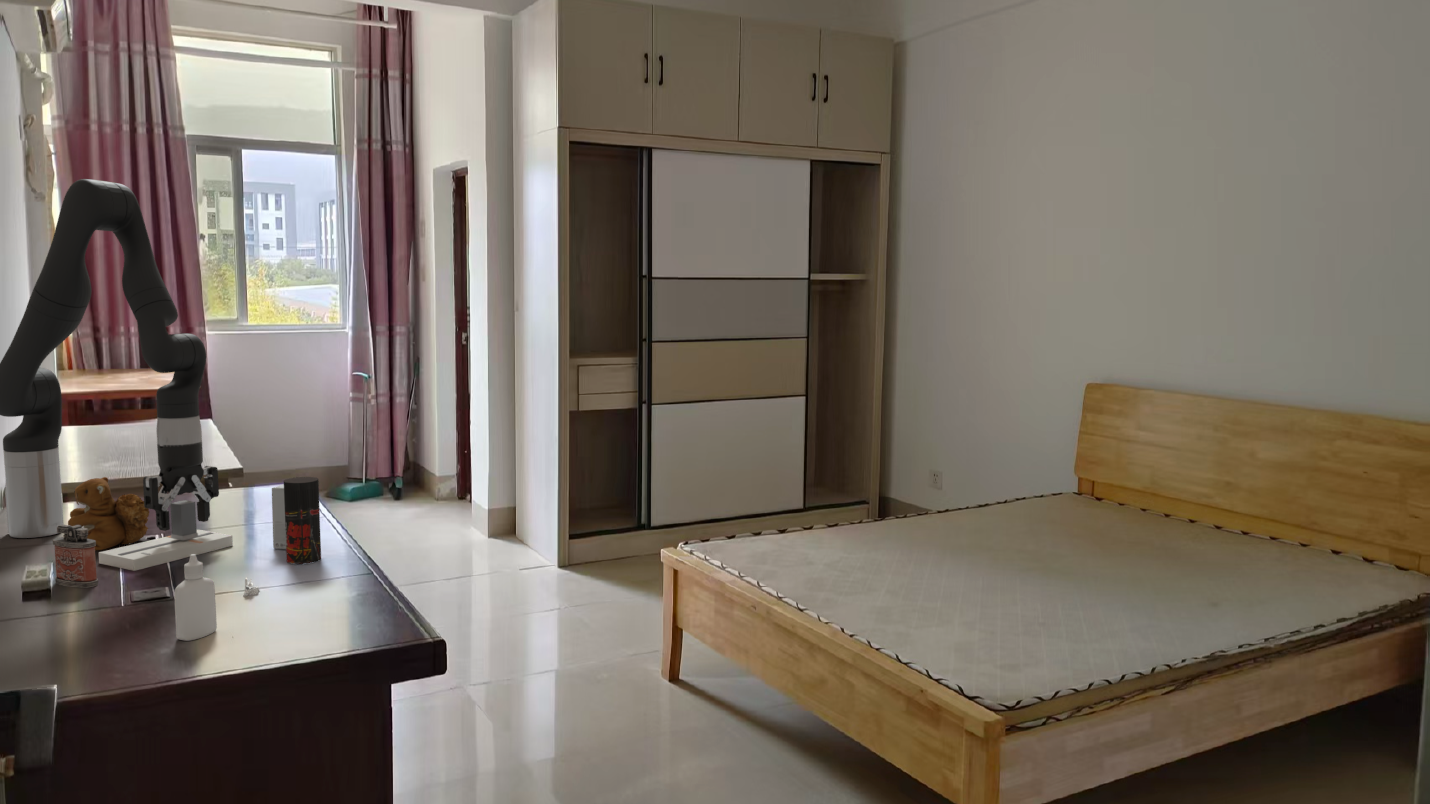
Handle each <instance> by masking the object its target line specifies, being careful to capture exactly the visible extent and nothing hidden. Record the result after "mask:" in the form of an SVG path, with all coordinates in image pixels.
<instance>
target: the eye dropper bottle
mask: <svg viewBox="0 0 1430 804" xmlns="http://www.w3.org/2000/svg"><path fill="white" fill-rule="evenodd" d="M183 566H184V567H183V571H184V580H182V581H181V582H180V583H178V585H177V586H176V587H175V589H174V595H173V596H174V614H175V615H174V617H175V620H174V621H175V635H176V636H175V637H176V639H177V640H179V641H185V642H190V641H195V640H199V639H201V638H205V637H207V636H210V635H212V634H213V633H214V632H215V631H217V628H218V627H217V625H218V624H217V605H216V604H217V603H216V588H215V587H216V586H215V581H214V579H212V578H209V577H204V563H203V561H199V560H198V557H197V555H196V554H191V555H190V557H189V561H188V562H186V563H184V565H183Z"/></svg>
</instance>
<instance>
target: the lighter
mask: <svg viewBox="0 0 1430 804" xmlns="http://www.w3.org/2000/svg"><path fill="white" fill-rule="evenodd" d="M57 534H63V536H61V537H56V538H53V539H52V545H54V558H55V571H56V572H55V573H56V576H55V578H54V579H55V580H54V582H55V584H57V585H60V586H64V587H71V588H82V589H84V588H91V587H92V588H93V587H96V586H98V585H99V578H97V562H96V560H97V559H96V551H95V546H96V541H95V540H92V539H87V537H88V529H87V528H84V527H82V526H81V525H75V526H71V525H68V524H64V525H58V527H57Z"/></svg>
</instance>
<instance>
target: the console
mask: <svg viewBox="0 0 1430 804" xmlns="http://www.w3.org/2000/svg"><path fill="white" fill-rule="evenodd" d="M197 533H198V537H196V538H192V539H188V540H178V539H173V538H171V535H167V536H163V537H159V538H156V539H155V538H154V539H151V540H147V541H142V542H138V543H137V542H136V543H134V544H128V545H126V546H125V545H124V546H121V547H116V548H112V549H111V548H110V549H109V550H107V549H106V550H103V551H99V552H98V563H99V564H101V565H105V566H109V567H110V566H111V567H113V568H121V569H124V570H128V571H133V572H135V571H139V570H143V569H146V568H151V567H154V566H159V565H162V564H167V563H170V562H174V561H178V560H181V559H186V558H190V555H191V554H196V556H198V555H201V554H205V553H208V552H213V551H217V550H221V549H225V548H230V547H233V546H234V543H233V541H234V540H233V535H230V534H225V533H220V532H215V531H209V530H204V529H203V530H202V529H197Z"/></svg>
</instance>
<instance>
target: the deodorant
mask: <svg viewBox="0 0 1430 804" xmlns="http://www.w3.org/2000/svg"><path fill="white" fill-rule="evenodd" d="M283 484H284V505H285V531H286V549H285V555H286V563H287V564H290V565H306V564H307V565H308V564H313V563H317V562H319V561H321V560H322V547H321V546H322V545H321V544H322V543H321V542H322V541H321V540H322V539H321V518H320V516H321V515H320V513H321V512H320V487H319V486H320V485H319V484H320V482H319V478H318V477H314V476H298V477H297V476H296V477H290V478H286V479H284V480H283Z"/></svg>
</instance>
